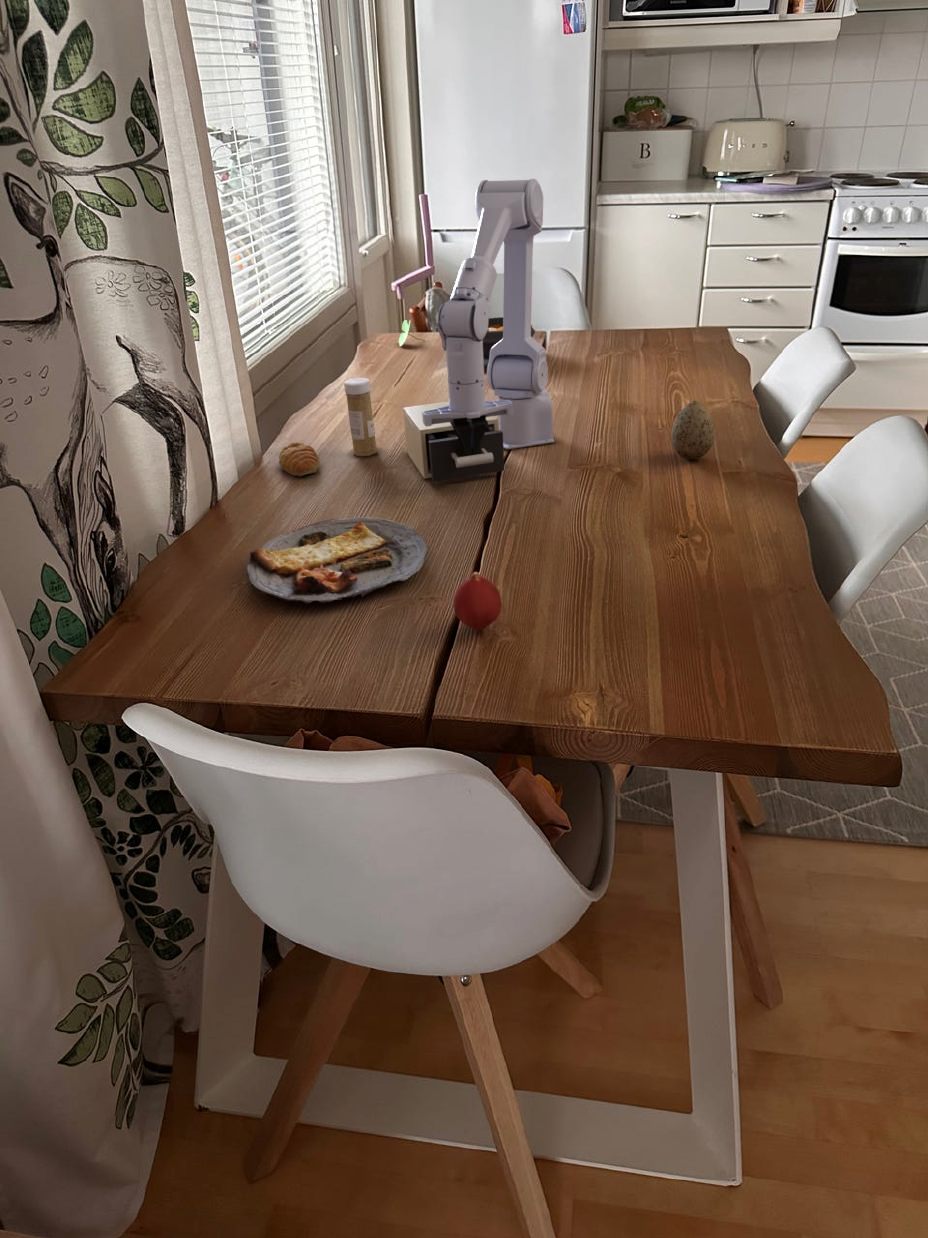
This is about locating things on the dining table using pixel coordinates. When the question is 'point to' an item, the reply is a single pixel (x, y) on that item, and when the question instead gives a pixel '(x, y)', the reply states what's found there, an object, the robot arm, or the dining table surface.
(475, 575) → the onion
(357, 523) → the food plate
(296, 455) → the pastry
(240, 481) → the dining table surface
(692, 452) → the decorative egg
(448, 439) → the pod drawer
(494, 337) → the casserole
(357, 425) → the sprinkles bottle
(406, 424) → the mini desk drawer box
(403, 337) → the seedling
